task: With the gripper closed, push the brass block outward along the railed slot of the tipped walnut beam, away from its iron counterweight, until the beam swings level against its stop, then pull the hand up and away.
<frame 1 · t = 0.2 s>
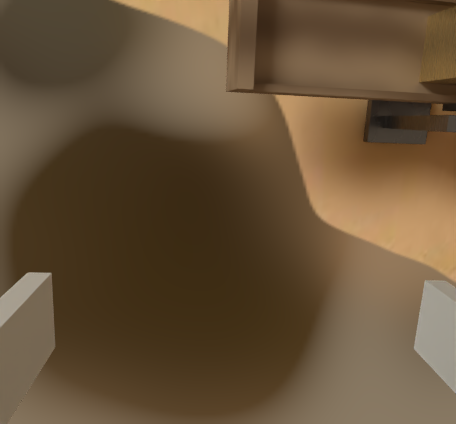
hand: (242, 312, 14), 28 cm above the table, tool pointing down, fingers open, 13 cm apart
beam stand: (401, 70, 40), on the table
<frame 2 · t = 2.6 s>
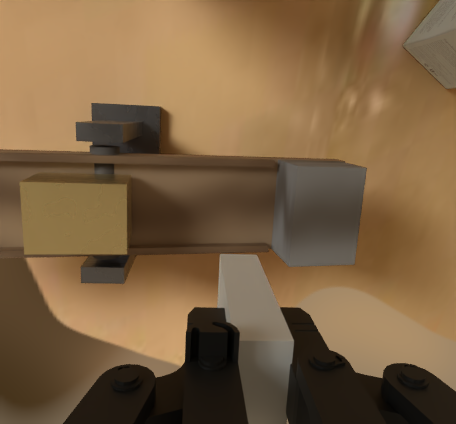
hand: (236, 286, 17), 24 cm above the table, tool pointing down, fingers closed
small box: (451, 34, 39), on the table
beam stand: (128, 180, 39), on the table
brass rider: (87, 205, 28), point 11 cm above the table, touching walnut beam
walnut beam: (103, 208, 28), point 12 cm above the table, hinge at -7.8°, touching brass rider
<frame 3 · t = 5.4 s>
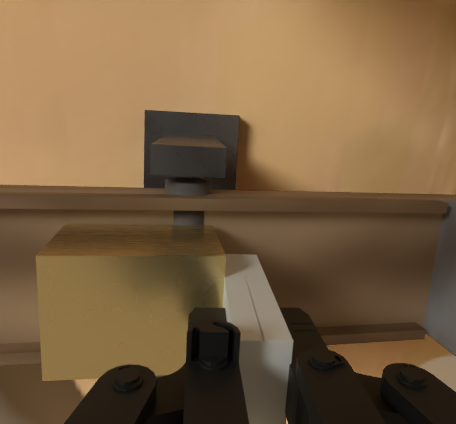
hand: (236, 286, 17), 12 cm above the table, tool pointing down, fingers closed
beam stand: (188, 216, 29), on the table
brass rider: (140, 274, 18), point 11 cm above the table, touching gripper
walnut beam: (189, 282, 17), point 12 cm above the table, hinge at -7.3°
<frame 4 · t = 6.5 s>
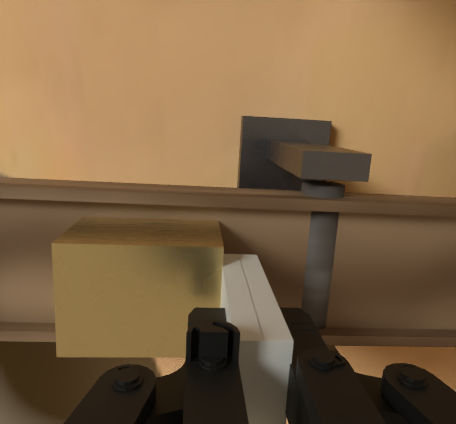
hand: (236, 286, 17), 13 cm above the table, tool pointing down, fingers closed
beam stand: (276, 216, 30), on the table
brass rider: (151, 264, 19), point 11 cm above the table, touching gripper
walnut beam: (326, 278, 18), point 12 cm above the table, hinge at 0.1°
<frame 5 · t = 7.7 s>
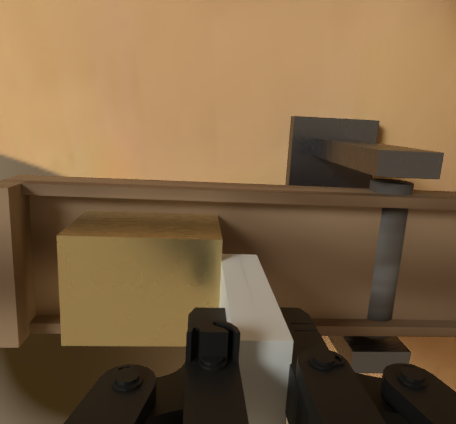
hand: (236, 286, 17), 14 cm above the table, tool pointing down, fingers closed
beam stand: (322, 214, 31), on the table
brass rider: (152, 258, 19), point 11 cm above the table, touching gripper, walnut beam
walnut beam: (398, 272, 19), point 12 cm above the table, hinge at 0.1°, touching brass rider
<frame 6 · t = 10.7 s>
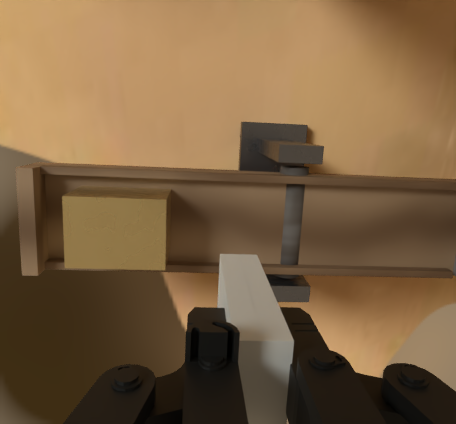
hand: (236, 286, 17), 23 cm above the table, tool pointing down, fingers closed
beam stand: (267, 197, 40), on the table
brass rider: (126, 218, 28), point 11 cm above the table, touching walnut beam
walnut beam: (296, 228, 28), point 12 cm above the table, hinge at 0.1°, touching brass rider
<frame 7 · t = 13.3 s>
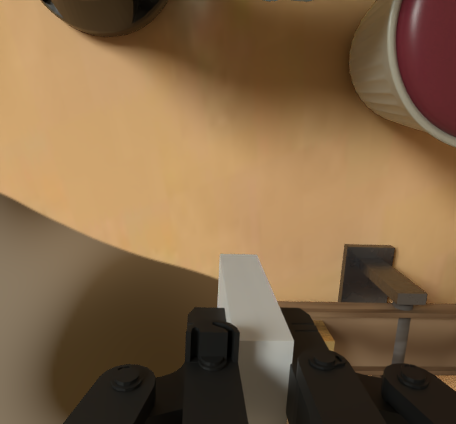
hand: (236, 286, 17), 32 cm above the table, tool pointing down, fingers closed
canister: (399, 60, 47), on the table
beam stand: (361, 296, 53), on the table
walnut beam: (406, 346, 41), point 12 cm above the table, hinge at 0.1°, touching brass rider
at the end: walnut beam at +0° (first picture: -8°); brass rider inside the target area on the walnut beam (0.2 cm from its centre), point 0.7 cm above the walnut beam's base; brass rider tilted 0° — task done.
